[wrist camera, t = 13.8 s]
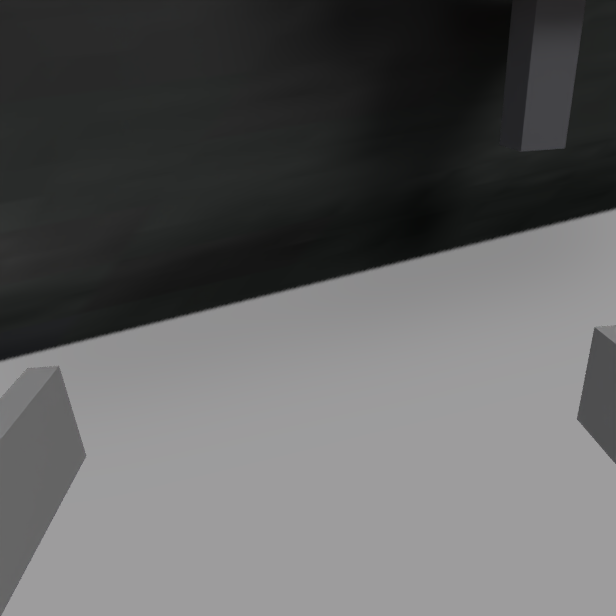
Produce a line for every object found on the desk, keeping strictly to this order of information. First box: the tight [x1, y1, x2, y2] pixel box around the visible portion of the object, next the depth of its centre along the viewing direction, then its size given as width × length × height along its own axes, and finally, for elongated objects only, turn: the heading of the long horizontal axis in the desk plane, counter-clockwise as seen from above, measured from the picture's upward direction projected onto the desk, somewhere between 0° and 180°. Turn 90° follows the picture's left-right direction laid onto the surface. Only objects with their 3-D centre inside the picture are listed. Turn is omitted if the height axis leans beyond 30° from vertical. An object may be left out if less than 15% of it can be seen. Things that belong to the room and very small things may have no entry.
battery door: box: [499, 0, 586, 151], centre depth 28 cm, size 8×10×11 cm
